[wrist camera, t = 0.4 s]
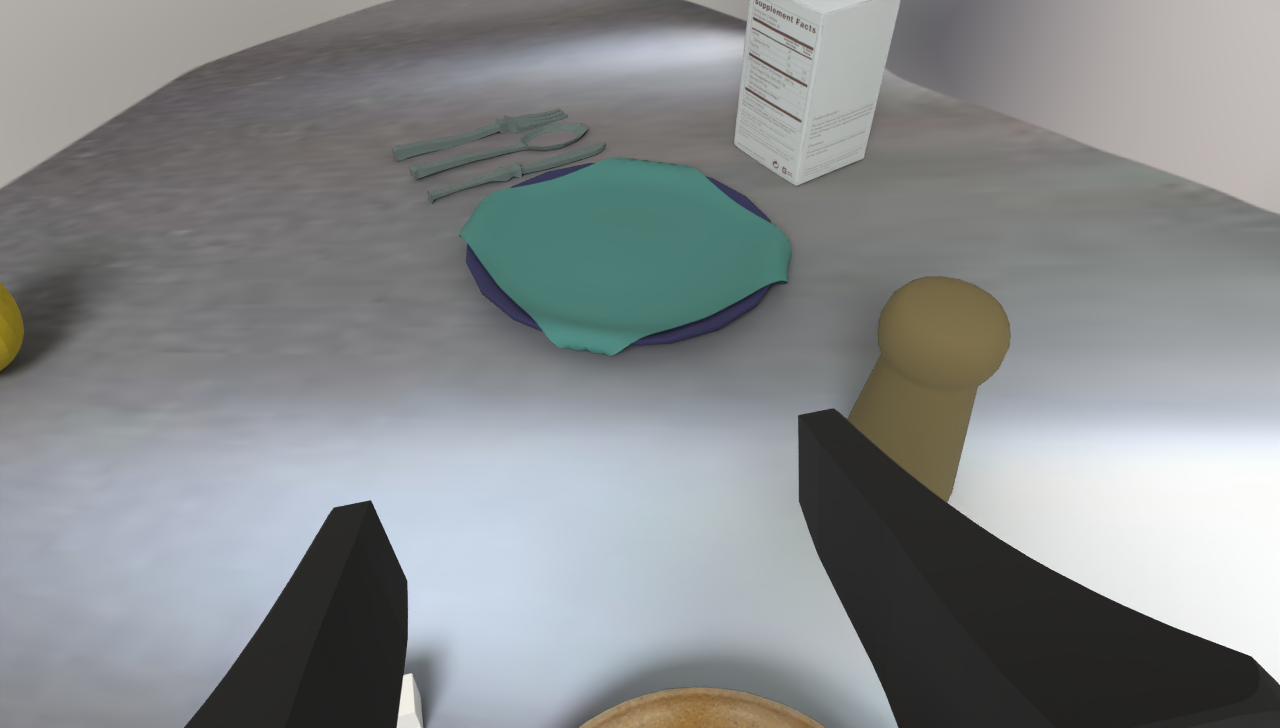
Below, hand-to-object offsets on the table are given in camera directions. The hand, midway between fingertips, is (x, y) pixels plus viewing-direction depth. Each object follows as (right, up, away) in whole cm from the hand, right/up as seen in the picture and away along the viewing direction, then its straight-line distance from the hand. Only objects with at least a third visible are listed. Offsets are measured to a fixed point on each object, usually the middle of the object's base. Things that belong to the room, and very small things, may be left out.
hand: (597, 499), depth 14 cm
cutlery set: (-3, +12, +42) cm, 44 cm away
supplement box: (+13, +18, +49) cm, 54 cm away
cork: (+13, -3, +27) cm, 30 cm away
